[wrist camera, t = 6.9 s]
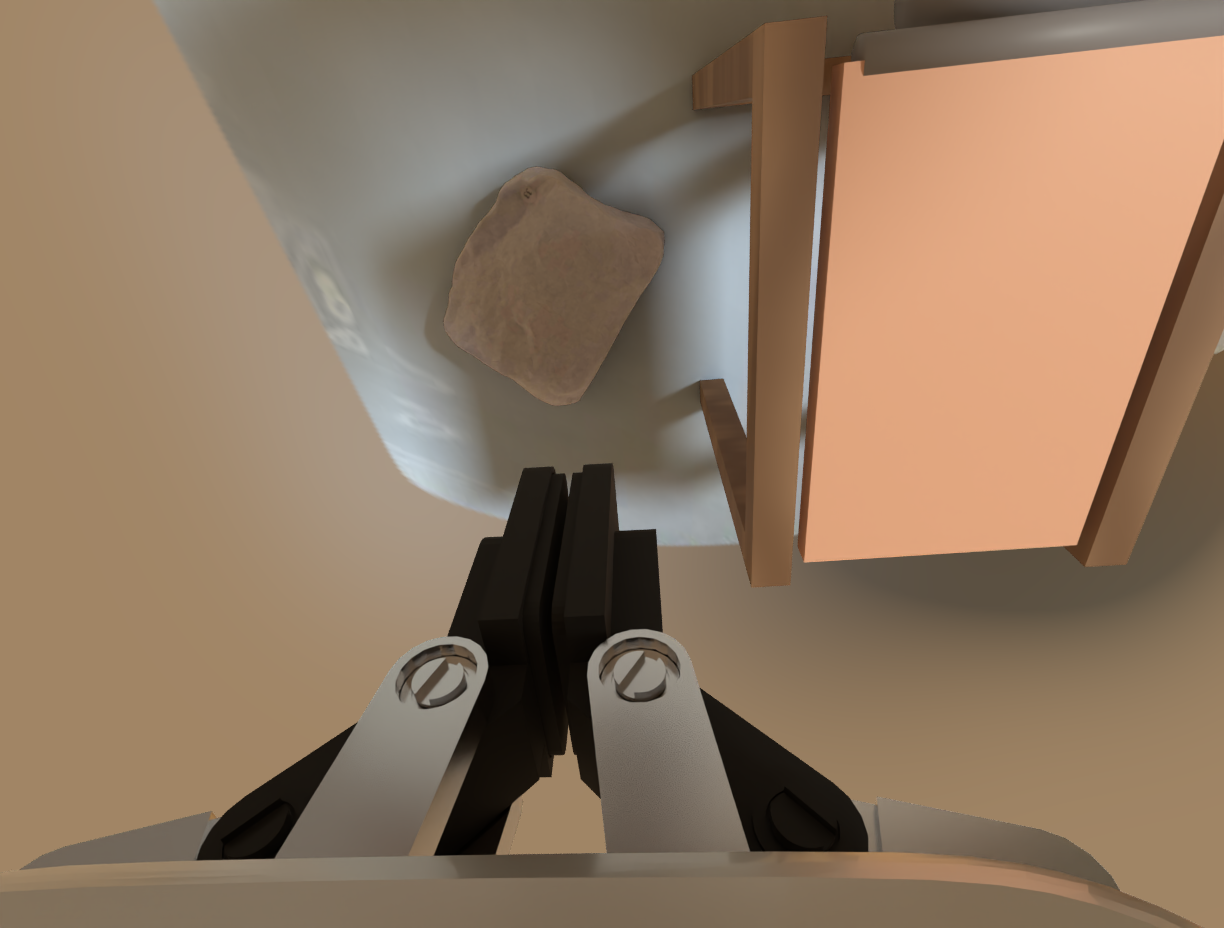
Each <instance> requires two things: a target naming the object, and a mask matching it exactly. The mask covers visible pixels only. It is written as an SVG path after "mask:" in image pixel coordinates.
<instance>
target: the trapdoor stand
mask: <svg viewBox="0 0 1224 928" xmlns="http://www.w3.org/2000/svg"><path fill="white" fill-rule="evenodd" d="M826 29H827V16H821V17H812V18H804V19H796V20H787V21H779V22H771V23H764V24H763V25H762V26H760V27H759V28H758V29H756V30H755V31H753V32H752V33H751V34H749V35H748V36H746V37H745V38H744V39H742V40H741V41H739V42H738V43H737V44H735V45H734V46H733V47H731V48H730V49H728V50H727V51H726V52H724V53H723V54H721V55H720V56H719V57H717V58H716V59H715V60H713V61H712V62H710V63H709V64H708V65H706V66H705V67H703V68H702V69H701V70H699V71H698V72H697V73H695V74H694V75H692V96H693V110H698V109H707V108H716V107H725V106H734V105H743V104H752V145H751V206H750V268H749V329H748V390H747V438H746V435H745V433H744V430H743V428H742V425H741V423H740V420H739V417H738V415H737V412H736V410H735V407H734V405H733V402H732V400H731V397H730V394H729V392H728V389H727V387H726V384H725V382H724V379H714V380H702V381H700V403H701V406H702V410H703V414H704V417H705V421H706V425H707V428H708V432H709V435H710V439H711V443H712V446H713V450H714V454H715V457H716V461H717V464H718V468H719V472H720V475H721V479H722V483H723V486H724V490H725V493H726V497H727V501H728V504H729V508H730V512H731V515H732V519H733V522H734V526H735V530H736V533H737V537H738V541H739V544H740V548H741V551H742V555H743V559H744V562H745V566H746V570H747V573H748V577H749V580H750V584H751V587H765V586H783V585H790V581H791V566H792V550H793V535H794V520H795V504H796V489H797V474H798V458H799V443H800V428H801V412H802V397H803V382H804V366H805V351H806V336H807V321H808V305H809V290H810V275H811V259H812V244H813V229H814V213H815V198H816V183H817V167H818V152H819V137H820V121H821V106H822V96H824V95H830V92H831V78H832V66H834V65H838V64H841V63H846V62H851V56H843V57H835V58H826V59H825V45H826ZM1223 330H1224V140H1223V143H1222V146H1221V148H1220V151H1219V154H1218V157H1217V159H1216V162H1215V165H1214V168H1213V170H1212V173H1211V176H1210V179H1209V182H1208V184H1207V187H1206V190H1205V193H1204V195H1203V198H1202V201H1201V204H1200V206H1199V209H1198V212H1197V215H1196V217H1195V220H1194V223H1193V226H1192V228H1191V231H1190V234H1189V237H1188V239H1187V242H1186V245H1185V248H1184V250H1183V253H1182V256H1181V259H1180V262H1179V264H1178V267H1177V270H1176V273H1175V275H1174V278H1173V281H1172V284H1171V286H1170V289H1169V292H1168V295H1167V297H1166V300H1165V303H1164V306H1163V308H1162V311H1161V314H1160V317H1159V319H1158V322H1157V325H1156V328H1155V330H1154V333H1153V336H1152V339H1151V342H1150V344H1149V347H1148V350H1147V353H1146V355H1145V358H1144V361H1143V364H1142V366H1141V369H1140V372H1139V375H1138V377H1137V380H1136V383H1135V386H1134V388H1133V391H1132V394H1131V397H1130V399H1129V402H1128V405H1127V408H1126V411H1125V413H1124V416H1123V419H1122V422H1121V424H1120V427H1119V430H1118V433H1117V435H1116V438H1115V441H1114V444H1113V446H1112V449H1111V452H1110V455H1109V457H1108V460H1107V463H1106V466H1105V468H1104V471H1103V474H1102V477H1101V479H1100V482H1099V485H1098V488H1097V491H1096V493H1095V496H1094V499H1093V502H1092V504H1091V507H1090V510H1089V513H1088V515H1087V518H1086V521H1085V524H1084V526H1083V529H1082V532H1081V535H1080V537H1079V540H1078V543H1077V545H1070V546H1063V547H1065V548H1066V549H1067V550H1068V551H1069V552H1070V553H1071V554H1072V555H1073V556H1074V557H1075V558H1076V559H1077V560H1078V561H1079V562H1080V563H1081V564H1082V565H1083V566H1084V567H1092V566H1109V565H1125V564H1127V562H1128V559H1129V557H1130V554H1131V552H1132V550H1133V547H1134V545H1135V542H1136V540H1137V537H1138V535H1139V533H1140V530H1141V528H1142V526H1143V523H1144V521H1145V518H1146V516H1147V513H1148V511H1149V509H1150V506H1151V504H1152V501H1153V499H1154V497H1155V494H1156V492H1157V489H1158V487H1159V484H1160V482H1161V480H1162V477H1163V475H1164V472H1165V470H1166V468H1167V465H1168V463H1169V460H1170V458H1171V455H1172V453H1173V451H1174V448H1175V446H1176V443H1177V441H1178V438H1179V436H1180V433H1181V431H1182V429H1183V426H1184V424H1185V422H1186V419H1187V417H1188V414H1189V412H1190V409H1191V407H1192V405H1193V402H1194V400H1195V398H1196V395H1197V393H1198V390H1199V388H1200V385H1201V383H1202V381H1203V378H1204V376H1205V373H1206V371H1207V368H1208V366H1209V364H1210V361H1211V359H1212V357H1213V354H1214V352H1215V349H1216V347H1217V344H1218V342H1219V340H1220V337H1221V335H1222V332H1223Z"/></svg>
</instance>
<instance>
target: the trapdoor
mask: <svg viewBox="0 0 1224 928" xmlns="http://www.w3.org/2000/svg"><path fill="white" fill-rule="evenodd" d="M894 22H895V28H896V30H887V31H878V32H870V33H861V34H859V35H858V37H857V38H856V41H855V43H854V46H853V50H852V56H851V62H846V63H841V64H838V65H834V66H832V78H831V92H830V106H829V120H828V133H827V147H826V161H825V175H824V189H823V202H822V216H821V230H820V244H819V257H818V271H817V285H816V299H815V313H814V326H813V340H812V354H811V368H810V381H809V395H808V409H807V423H806V437H805V450H804V464H803V478H802V492H801V505H800V519H799V533H798V549H799V551H800V554H801V556H802V558H803V561H804V562H818V561H833V560H850V559H866V558H880V557H897V556H912V555H928V554H942V553H943V554H944V553H958V552H959V553H960V552H975V551H991V550H1007V549H1023V548H1038V547H1054V546H1070V545H1077V543H1078V540H1079V537H1080V535H1081V532H1082V529H1083V526H1084V524H1085V521H1086V518H1087V515H1088V513H1089V510H1090V507H1091V504H1092V502H1093V499H1094V496H1095V493H1096V491H1097V488H1098V485H1099V482H1100V479H1101V477H1102V474H1103V471H1104V468H1105V466H1106V463H1107V460H1108V457H1109V455H1110V452H1111V449H1112V446H1113V444H1114V441H1115V438H1116V435H1117V433H1118V430H1119V427H1120V424H1121V422H1122V419H1123V416H1124V413H1125V411H1126V408H1127V405H1128V402H1129V399H1130V397H1131V394H1132V391H1133V388H1134V386H1135V383H1136V380H1137V377H1138V375H1139V372H1140V369H1141V366H1142V364H1143V361H1144V358H1145V355H1146V353H1147V350H1148V347H1149V344H1150V342H1151V339H1152V336H1153V333H1154V330H1155V328H1156V325H1157V322H1158V319H1159V317H1160V314H1161V311H1162V308H1163V306H1164V303H1165V300H1166V297H1167V295H1168V292H1169V289H1170V286H1171V284H1172V281H1173V278H1174V275H1175V273H1176V270H1177V267H1178V264H1179V262H1180V259H1181V256H1182V253H1183V250H1184V248H1185V245H1186V242H1187V239H1188V237H1189V234H1190V231H1191V228H1192V226H1193V223H1194V220H1195V217H1196V215H1197V212H1198V209H1199V206H1200V204H1201V201H1202V198H1203V195H1204V193H1205V190H1206V187H1207V184H1208V182H1209V179H1210V176H1211V173H1212V170H1213V168H1214V165H1215V162H1216V159H1217V157H1218V154H1219V151H1220V148H1221V146H1222V143H1223V140H1224V0H895V4H894Z"/></svg>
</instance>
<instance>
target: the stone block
mask: <svg viewBox="0 0 1224 928" xmlns="http://www.w3.org/2000/svg"><path fill="white" fill-rule="evenodd" d="M664 243H665V239H664V232H663V231H662V230H661V229H660V228H659V227H658V226H657V225H656V224H655V223H654V222H653V221H652V220H651V219H648V218H646V217H643V216H640V215H636V214H632V213H630V212H625V211H621V210H619V209H617V208H614V207H611V206H606V205H604V204H603V203H601V202H599V201H597V200H596V199H594V198H592V197H590V196H589V195H588V194H586V193H585V192H584V190H583V189H582V188H581V187H580V186H579V185H577V184H575V183H574V182H572V181H571V180H569V179H568V178H567V177H566V176H565V175H564V174H563V173H561V172H560V171H558V170H555V169H546V168H543V167H531V168H527V169H526V170H525V171H523V172H521V173H519V174H518V175H516V176H514V177H513V178H512V179H511V180H509V181H508V182H506V183H505V184H504V185H503V187H502V188H501V190H500V191H499V193H498V196H497V200H496V202H495V204H494V205H493V207H492V208H491V209H490V211H489V212H488V213H487V215H486V216H485V217H484V218H483V219H482V220H481V221H480V222H479V223H478V225H477V227H476V228H475V230H474V231H473V233H472V234H471V235H470V237H469V239H468V240H467V242H466V244H465V247H464V248H463V250H462V251H461V253H460V255H459V257H458V259H457V261H456V263H455V267H454V272H453V279H452V288H451V289H450V292H449V302H448V307H447V310H446V314H445V317H444V319H443V322H444V330H445V331H446V333H447V334H448V336H449V337H450V338H451V340H452V341H453V342H454V343H455V344H456V345H457V346H458V347H459V348H461V349H462V350H464V351H466V352H467V353H469V354H471V355H473V356H474V357H475V358H477V359H479V361H481V362H482V363H484V364H485V365H487V366H489V367H490V368H492V369H493V370H495V371H497V372H499V373H500V374H502V375H504V376H507V377H509V378H511V379H513V380H514V381H515V382H516V383H518V384H519V385H520V386H521V387H523V388H524V389H525V390H527V391H528V392H529V393H530V394H532V395H533V396H534V397H536V398H538V399H539V400H541V401H543V402H546V403H548V404H551V405H553V406H559V405H568V404H572V403H576V402H578V401H579V400H580V399H581V397H582V395H583V394H584V392H585V391H586V389H587V388H588V386H589V385H590V383H591V382H592V380H593V378H594V377H595V375H596V373H597V371H598V370H599V368H600V366H601V364H602V363H603V361H604V359H605V358H606V356H607V354H608V352H609V350H610V349H611V347H612V345H613V343H614V341H615V339H616V337H617V335H618V334H619V332H620V330H621V328H622V326H623V324H624V322H625V321H626V319H627V317H628V315H629V314H630V312H631V310H632V309H633V307H634V306H635V304H636V303H637V301H638V299H639V297H640V295H641V294H642V293H643V291H644V290H645V289H646V287H647V286H648V285H649V283H650V282H651V280H652V278H653V276H654V274H655V273H656V271H657V269H658V268H659V266H660V263H661V261H662V258H663V255H664V253H663V250H664Z"/></svg>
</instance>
